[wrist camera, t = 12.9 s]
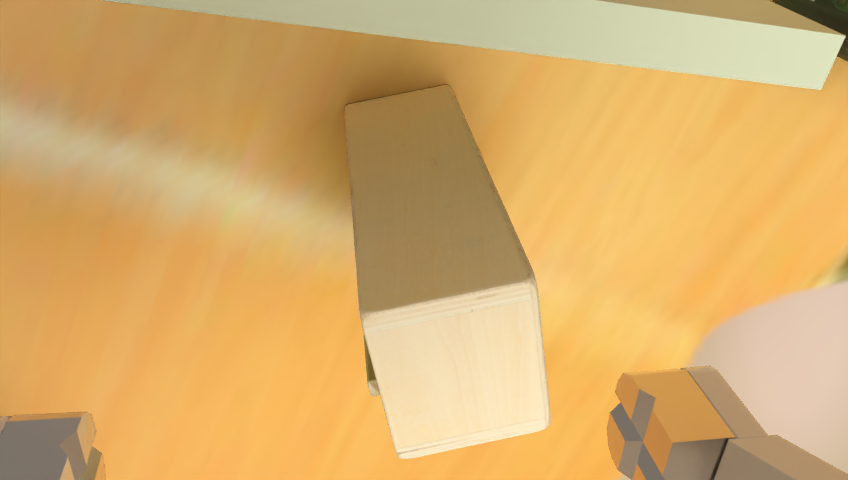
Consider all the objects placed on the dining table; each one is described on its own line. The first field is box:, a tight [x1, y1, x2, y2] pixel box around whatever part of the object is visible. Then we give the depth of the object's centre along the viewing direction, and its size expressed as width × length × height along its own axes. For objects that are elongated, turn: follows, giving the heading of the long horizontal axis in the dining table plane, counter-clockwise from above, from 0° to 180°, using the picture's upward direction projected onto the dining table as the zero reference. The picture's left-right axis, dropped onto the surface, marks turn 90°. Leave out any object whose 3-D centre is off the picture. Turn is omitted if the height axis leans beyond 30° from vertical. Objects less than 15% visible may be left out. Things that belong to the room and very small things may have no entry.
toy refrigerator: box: [345, 85, 551, 459], centre depth 36 cm, size 8×7×21 cm
